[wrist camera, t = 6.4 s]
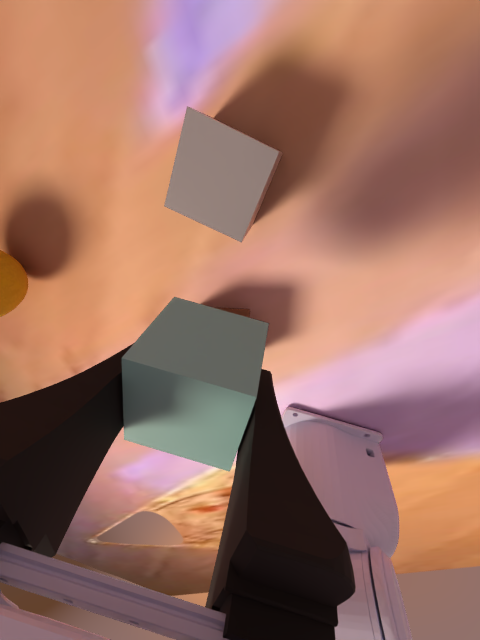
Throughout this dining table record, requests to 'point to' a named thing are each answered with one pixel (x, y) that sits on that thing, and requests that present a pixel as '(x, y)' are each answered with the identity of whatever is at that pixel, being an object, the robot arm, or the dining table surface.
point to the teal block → (193, 382)
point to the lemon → (11, 283)
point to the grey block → (220, 175)
